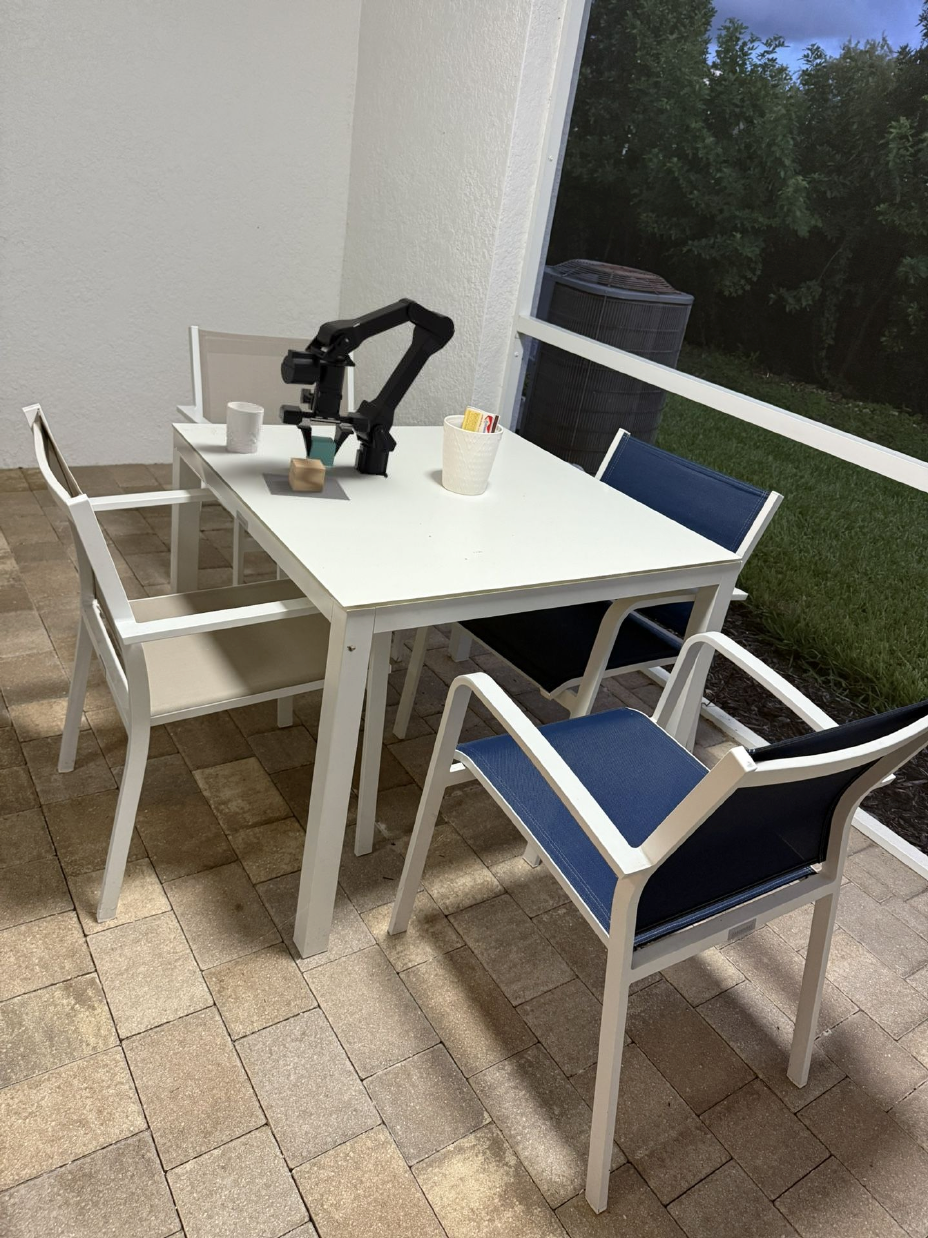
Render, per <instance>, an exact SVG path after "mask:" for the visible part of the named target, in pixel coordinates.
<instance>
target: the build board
mask: <svg viewBox="0 0 928 1238" xmlns="http://www.w3.org/2000/svg"><path fill="white" fill-rule="evenodd" d="M261 474H262V477H263V480H264V481H265V483H266V486H267V488H268V490H269V492H270V495H273V496H274V495H275V496H286V497H299V498H313V499H314V498H315V499H329V500H339V501H340V500H341V501H351V500H350V498H349V496H348V495H347V493H346V492H345V490H344V489H343V487H342V485H341V483H340V482H339V481H338V480H337V478H327V477H325V478H324V485H323V492H310V491H297V490H293V488H292V486H291V484H290V482H289V481H288V480H289V474H288V475H287V474H277V473H264V472H262V473H261Z"/></svg>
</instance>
